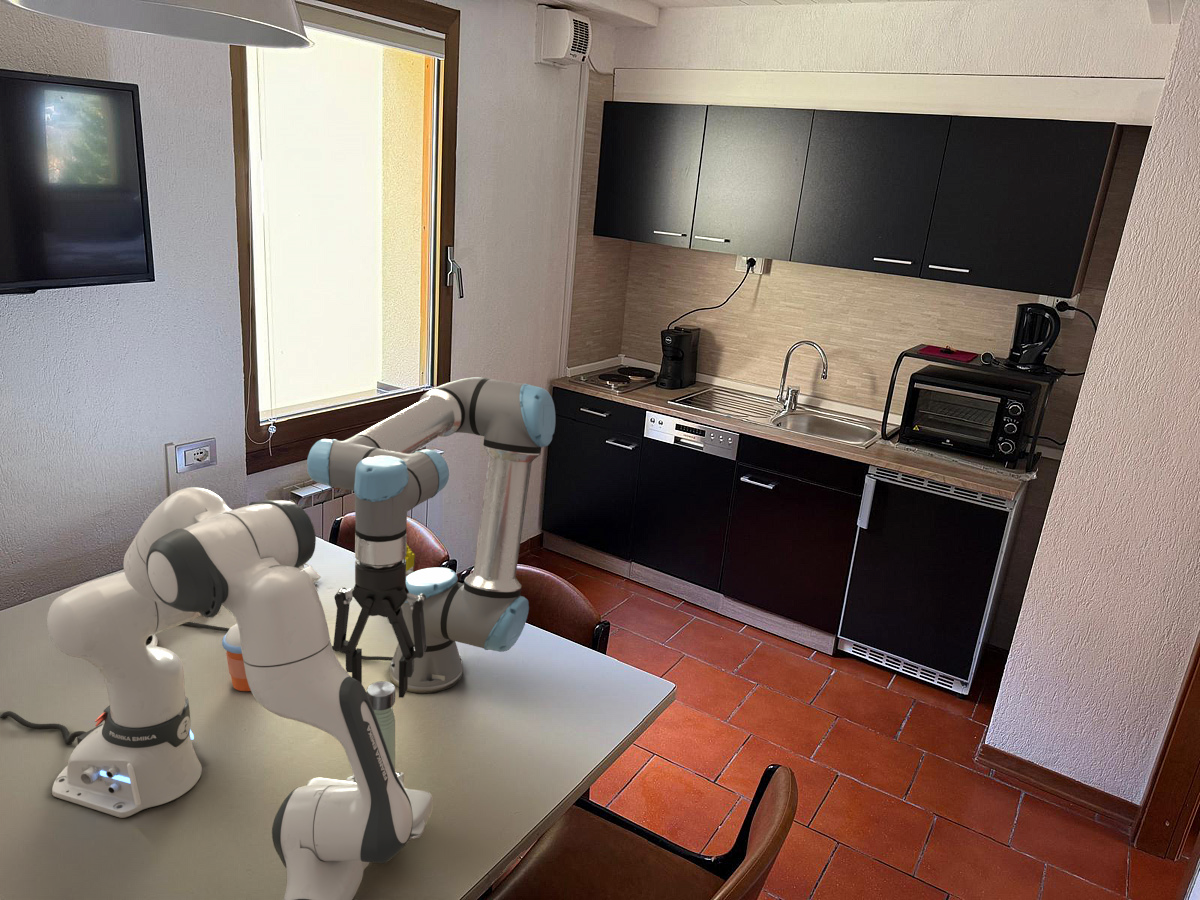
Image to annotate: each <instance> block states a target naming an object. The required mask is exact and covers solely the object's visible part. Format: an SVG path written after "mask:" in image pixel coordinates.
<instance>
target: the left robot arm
mask: <svg viewBox="0 0 1200 900" xmlns="http://www.w3.org/2000/svg"><path fill="white" fill-rule="evenodd" d="M316 536H317V535H316V528H315V526H314V523H313V521H312V519H311V517H310V515H309V514H308V513H307V511H305V509H304V508H302V507H301V506H300V505H299V504H297V503H296V502H293V501H291V500H282V499H281V500H279V499H278V500H261V501H251V502H249V504H248V505H245V506H242V507H239V508H235V509H232V508H230V507H229V506H228V505H227V503H226V501H225V500H224V499H223V498H222V497H221V496H219V495H218V494H217V493H216V492H214V491H211V490H209V489H206V488H202V487H197V486H196V487H184V488H181V489H178V490H177V491H174V492H173V493H171V494H170V495H169V496H167V497H166V498H165V499H164V500H162V501H161V502H160V503H159V504H158V505H157V506H156V507H155V508H154V509H153V510H152V511H151V513H150V514H149V515H148V517H147V518H146V519H145V520H144V521H143V524H142V525H141V527H140V528H139V530H138V531H137V533H136V535H135V537H134V538H133V540H132V542H131V543H130V545H129V547H128V549H126V552H125V554H124V557H123V571H121V572H118V573H115V574H112V575H108V576H105V577H102V578H101V577H100V578H98V579H95V580H92V581H88V582H85V583H83V584H81V585H79V586H77V587H75V588H73V589H70V590H69V591H67V592H65V593H64V594H61V595H60V596H57V597H56V598H55V599H54V600H53V601H52V603H51V604H50V607H49V608H48V612H47V615H46V630H47V634H48V636H49V639H50V640H51V642H52V643H53V645H54V646H55V647H56V648H57V649H58V650H60V651H61V652H62V653H64V654H66V655H67V656H70V657H73V658H77V659H82V660H84V661H86V662H88V663H90V664H92V665H93V666H94V667H96V668H97V669H98V670H99V672H100V673H101V675H102V677H103V679H104V683H105V687H106V692H107V698H108V705H107V707H106V708H105V709H103V713H101V715H99V716H98V717H97V718H96V719H95V721H94V723H96V724H95V727H93V728H91V729H90V730H88V731H85V730H76V731H73V732H72V733H71V734H70V732H69V729H68V727H66V726H65V725H64V724H60V723H35V722H31V721H28V720H27V719H25V718H23V717H22V716H20V715H19V714H18V713H16V712H13V711H11V710H7V711H4V712H2V713H1V715H0V719H6V718H11V719H12V720H13V721H15V722H17V723H18V724H20V725H22V726H23V727H25V728H28V729H31V730H58V731H60V732H61V733H62V736H63V741H64V743H65V744H67V745H71V744H73V743H74V741H76V742H77V743H76V744H77V745H76V746H75V747H74V749H73V750H72V752H71V754H70V756H69V758H68V762H67V765H66V766H65V767H63V769H62V770H61V772H59V773H58V775H57V776H56V778H55V780H54V781H53V784H52V789H51V793H52V796H53V797H55V798H58V799H61V800H64V801H67V802H70V803H73V804H76V805H78V806H79V805H80V806H83V807H85V808H89V809H92V810H94V811H95V810H96V811H98V812H101V813H104V814H108V815H110V816H114V817H117V818H120V819H123V818H128V817H131V816H133V815H135V814H137V813H139V812H141V811H143V810H146V809H148V808H149V809H150V808H153V807H157V806H161V805H164V804H167V803H169V802H172V801H174V800H176V799H178V798H180V797H181V796H183V795H184V794H186V793H188V792H189V791H190V790H191V789H192V788H194V786H196V784H197V783H198V782H199V780H200V778H201V776H202V772H203V768H202V764H201V762H200V761H199V758H198V756H197V754H196V751H195V748H194V745H193V741H192V740H194V739H195V736H194V733H193V732H192V730H191V710H190V702H189V698H188V697H187V695H186V686H185V671H184V664H183V662H182V660H181V658H180V657H179V656H178V655H177V653H175V652H174V651H173V650H170V649H168V648H165V647H161V646H158V645H157V646H147V645H148V644H147V642H146V640H147V638H148V637H149V636H151V635H156V634H159V633H162V632H165V631H167V630H170V629H172V628H175V627H178V626H180V625H184V624H183V623H186V622H192V621H193V620H195V619H196V618H198V617H200V616H203V617H205V618H208V619H213V618H214V617H216V616H217V615H219V612H220V610H221V608H222V607H223V608H225V609H226V610H227V611H229V612H230V614H231V615H232V616H233V617H234V620H235V621H236V623H237V624H238V629H239V634H240V643H241V650H242V656H243V662H244V667H245V673H246V677H247V681H248V685H249V687H250V690H251V691H250V692H251V694H252V696H253V697H254V699H255V701H257V703H258V704H259V705H260V706H261V707H263V708H264V709H266V710H267V711H268V712H271V713H272V714H274V715H276V716H278V717H281V718H284V719H288V720H292V721H296V722H298V723H303V724H305V725H309V726H311V727H314V728H316V729H318V730H320V731H323V732H325V733H327V734H329V735H330V736H332V737H333V738H334V739H336V740H337V741H338V743H340V745H341V746H342V748H343V749H344V752H345V755H346V757H347V760H348V763H349V766H350V769H351V771H352V775H350V776H349V777H347V778H346V779H345V780H343V779H338V778H337V779H335V778H329V777H328V778H327V777H321V776H316V777H313V778H311V779H309V780H308V781H307V783H306V784H305V785H304V786H298V787H296V788H294V789H293V790H292V791H291V792H290V793H289V794H288V795H287V796H286V797H285V798H284V800H283V802H282V803H281V805H280V806H279V808H278V810H277V812H276V814H275V817H274V819H273V823H272V827H271V829H272V830H271V838H272V844H273V848H274V850H275V852H276V854H277V856H278V858H279V859H280V861H281V863H282V865H283V866H284V868H285V870H286V884H285V890H284V895H283V899H282V900H353V899H354V898H355V896H356V894H357V892H358V890H359V888H360V886H361V883H362V882H363V881H362V880H363V877H364V871H365V869H367V867H368V866H369V865H370V863H374V864H375V863H376V864H386V863H388V862H389V861H391V860H392V859H393V858H394V857H396V856H397V855H398V854H399V853H400V852H401V851H402V850H403V849H404V848H405V847H406V845H407V844H408V843H409V842H411V840H416V839H420V838H421V837H422V836H423V834H424V832H425V829H426V825H427V823H428V821H429V820H430V817H431V815H432V813H433V801H434V800H433V796H432V794H431V792H430V791H427V790H420V789H412V788H406V787H405V784H404V781H405V772H400V771H399V772H398V771H396V768H395V769H394V766H393V763H392V761H391V758H390V755H389V752H388V749H387V746H386V743H385V741H384V738H383V735H382V732H381V729H380V726H379V723H378V721H377V718H376V715H375V712H374V710H373V707H372V704H371V702H370V699H369V697H368V695H367V690H366V688H365V687H364V685H363V683H362V684H361V683H360V682H359V681H357V680H356V679H354V678H352V675H350V674H349V672H347V671H346V668H344V666H343V665H342V664H341V662H340V661H339V659H338V657H337V656H336V653H335V650H333V648H332V646H333V644H332V641H331V637H330V631H329V626H328V621H327V617H326V614H325V610H324V607H323V604H322V601H321V598H320V595H319V593H318V590H317V587H316V585H315V583H314V582H313V580H312V578H311V577H310V576H309V574H307V573H306V572H305V571H303V570H302V569H299V567H301V566H302V565H304V566H305V564H307V563H308V561H310V560H311V558H312V557H313V555H314V553H315V551H316V544H317V543H316V542H317V537H316ZM102 723H103V724H102ZM75 739H76V740H75Z"/></svg>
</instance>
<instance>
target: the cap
mask: <svg viewBox="0 0 1200 900" xmlns="http://www.w3.org/2000/svg"><path fill="white" fill-rule="evenodd" d="M366 693H367V695H368V697H369V699H370V702H371V704H372V707H373V710H380V711H381V710H386V709H389V708H391V707H394V705H395V703H396V685H395V684H394V683H393V682H390V681H386V680H385V681H384V680H380V681H375V682H372V683H371V684H369V685H368V686H367V687H366Z"/></svg>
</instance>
